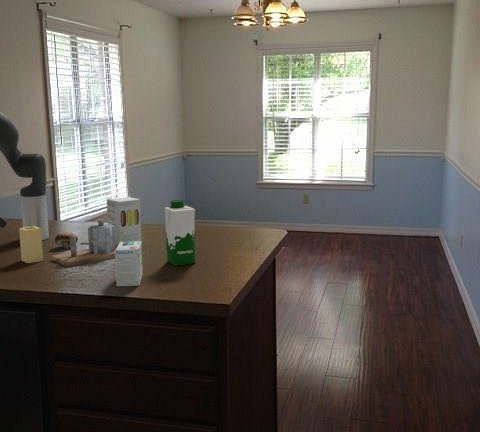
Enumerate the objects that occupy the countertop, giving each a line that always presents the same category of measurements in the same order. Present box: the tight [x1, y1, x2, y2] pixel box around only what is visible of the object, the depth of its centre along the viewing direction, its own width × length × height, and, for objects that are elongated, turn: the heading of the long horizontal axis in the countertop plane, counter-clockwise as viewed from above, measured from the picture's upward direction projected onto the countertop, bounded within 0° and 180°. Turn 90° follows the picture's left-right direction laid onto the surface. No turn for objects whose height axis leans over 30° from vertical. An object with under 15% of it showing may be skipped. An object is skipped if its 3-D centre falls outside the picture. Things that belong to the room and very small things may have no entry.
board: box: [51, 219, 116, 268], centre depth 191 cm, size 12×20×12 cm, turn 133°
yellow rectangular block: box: [18, 226, 44, 264], centre depth 188 cm, size 5×5×11 cm
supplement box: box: [106, 196, 142, 247], centre depth 212 cm, size 10×9×17 cm
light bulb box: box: [114, 240, 143, 287], centre depth 164 cm, size 11×7×11 cm, turn 5°
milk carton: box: [164, 199, 196, 267], centre depth 183 cm, size 9×9×20 cm
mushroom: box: [54, 231, 79, 249], centre depth 207 cm, size 8×8×6 cm
